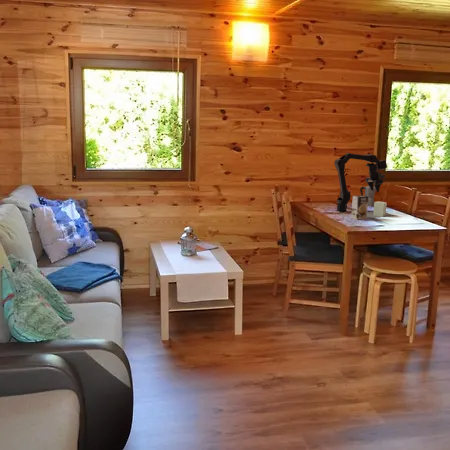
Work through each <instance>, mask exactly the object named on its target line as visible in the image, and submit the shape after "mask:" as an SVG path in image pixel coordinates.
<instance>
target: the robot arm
mask: <svg viewBox="0 0 450 450" xmlns="http://www.w3.org/2000/svg"><path fill="white" fill-rule="evenodd" d="M350 159H352V160H361V161H364V162H367V163H366V164H365V166H366V167H368V175H369V177H365V179H364V180H365V182H366V184H367V186H369V187H370V189H371V190H372V191H373V187H375V189H376V191H375V192H376V193H380V189H381V185H382V184H383V183H384V180H385V179H386V174H382V173H381V172H379V171H380V170H386V169H388V164H387V161H386V159H381V160H379V159H378V157H377V155H375V154H359V153H358V154H357V153H350V152H347V153H345V154H343V155H342V156H340V157H339V158H336V159H335V160H334V166H335V169H336V171H337V174H338V180H339V187H340V191H339V197H338V198H337V199H336V203H337V206H336V209H335V211H336V212H339V213H345V212H346V213H347V212H348V210H347V208H348V203H349V202H350V200H351V198H352V195H351V191H349V190H348V188H347V181H346V176H345V169H346V164H347V163H348V162H349V161H350Z"/></svg>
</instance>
